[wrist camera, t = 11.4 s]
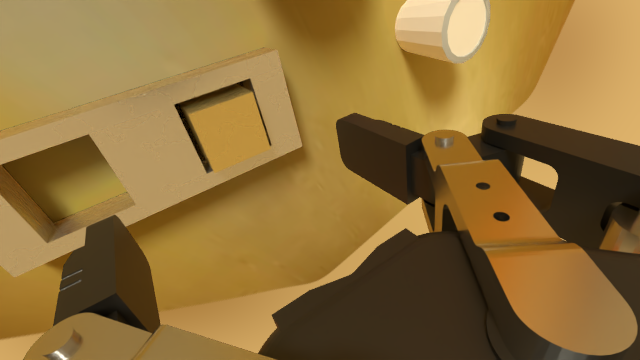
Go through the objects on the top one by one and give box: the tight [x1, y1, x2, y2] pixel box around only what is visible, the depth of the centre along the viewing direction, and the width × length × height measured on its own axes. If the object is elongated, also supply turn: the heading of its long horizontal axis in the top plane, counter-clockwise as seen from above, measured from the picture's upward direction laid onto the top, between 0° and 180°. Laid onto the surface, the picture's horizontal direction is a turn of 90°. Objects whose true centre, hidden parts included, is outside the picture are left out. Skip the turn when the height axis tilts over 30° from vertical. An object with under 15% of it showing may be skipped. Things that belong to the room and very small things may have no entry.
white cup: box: [395, 0, 490, 63], centre depth 32 cm, size 7×7×7 cm
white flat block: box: [0, 48, 302, 277], centre depth 25 cm, size 24×9×3 cm, turn 104°
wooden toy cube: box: [179, 83, 271, 173], centre depth 26 cm, size 5×5×5 cm
